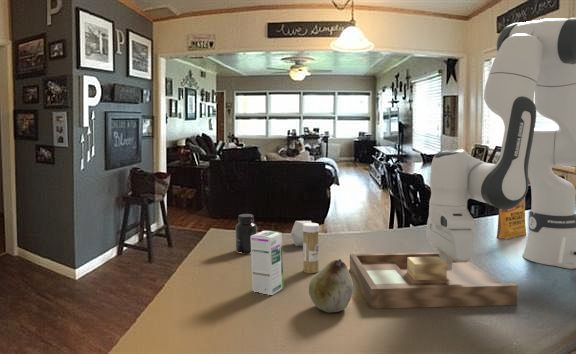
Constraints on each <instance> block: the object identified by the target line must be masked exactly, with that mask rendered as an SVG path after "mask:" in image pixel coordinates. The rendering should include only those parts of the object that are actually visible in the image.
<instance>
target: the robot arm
mask: <svg viewBox="0 0 576 354" xmlns="http://www.w3.org/2000/svg"><path fill="white" fill-rule="evenodd" d="M496 51H497V53H496V55H495V56H494V60H493V61H492V63H491V67H490V70H489V74H488V77H487V80H486V82H485V87H484V93H483V94H484V95H483V100H484V102H485V104H486V106H487V108H488V109H489V110H490V111H491V112H492V113H494V114H495V115H496V116H498V117H499V118H500V119H501V120H502V121H503V125H504V132H503V137H502V143H501V149H500V153H499V158H498V159H497V161H498V162H497V161H496V162H497V163H496V162H495V163H491V162H485V161H483V160H480V159H478V158H476V157H473V156H472V155H470V154H469V153H468V152H467V151H466V150H465V149H462V148H452V149H450V148H449V149H444V150H441V151H438V152H437V153H436V154H434V156H433V158H432V161H431V164H430V173H429V174H430V176H429V187H430V198H429V203H428V204H429V207H428V208H429V209H428V218H427V222H426V235H425V237H426V241H427V242H428V243H429V244H431V246H433V247H435V248H436V249H438V252H439V257H440V259H442V260H443V261H444V262H446V263H447V271H450V270H452V263H453V261H455V262H468V261H471V259H472V255H473V248H474V233H473V232H474V231H473V230H475V227H476V220H475V219H474V218H473V216H472V215H471V214H470V211H469V209H468V200H470V199H471V200H475V201H478V202H482V203H485V204H487V205H490V206H493V207H495V208H497V209H498V210H499V209H510V208H513V207H515V206H517V205H518V204H519V203H520V202H521V201H522V200H523V199H524V197H525V198H526V195H527V193H528V190H529V185H530V190H531V192H530V193H531V205H530V206H531V207H530V208H531V209H530V210H529V214H528V237H527V241H526V244H525V247H524V251H523V253H522V257H523V258H524V259H526V260H527V261H531V262H532V263H533V262H534V263H538V264H541V265H546V266H547V265H548V266H552V267H553V266H554V267H559V268H564V269H569V270H571V269H576V213H575V211H576V210H575V209H576V208H575V207H576V187H575V186H574V184H573V183H571V182H570V181H568V180H567V179H565V178H564V177H563V178H562V177H561V176H558V175H556V173H554V171H553V167H560V166H561V167H576V17H568V18H543V19H540V20H539V19H538V20H532V21H526V22H525V21H524V22H518V21H517V22H514V23H511V24H509V25H507V26H505V27H504V28H503V29H502V30H501V32H500V33H499V35H498V37H497V40H496ZM537 113H538V114H539V115H540V116H542V117H544V118H547V119H549V120H551V121H552V122H555V123H556V124H557V126H558V127H536V121H537ZM472 229H473V230H472Z"/></svg>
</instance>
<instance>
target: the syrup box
mask: <svg viewBox="0 0 576 354" xmlns="http://www.w3.org/2000/svg"><path fill="white" fill-rule="evenodd" d="M283 255H284V254H283V233H282V232H280V231H276V230H275V231H273V230H262V231H260V232H257V234H255V235H251V254H250V258H251V260H250V262H251V281H252V283H251V287H252V288H251V289H252V292H253V291H254V292H253V293H255V292H259V293H263V294H268V295H267V296H269V295H273V296H274V295H275V294H276V293H278V292H280V291H281V290H283V289H284V263H283V261H284V260H283V259H284V258H283V257H284V256H283ZM263 294H262V295H263Z"/></svg>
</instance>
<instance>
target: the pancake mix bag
mask: <svg viewBox="0 0 576 354" xmlns="http://www.w3.org/2000/svg"><path fill="white" fill-rule="evenodd" d="M497 162H498V160H496V162H495V164H496V163H497ZM497 216H498V218H497V229H496V238H497V239H499V240H500V239H501V240H510V239H514V238H515V239H516V238H519V237H524V236H526V235H527V227H526V196H525V197H524V199H523V200H522V201H521V202H520V203H519V204H518V205H517V206H515V207H513V208H510V209H499V208H498V215H497Z"/></svg>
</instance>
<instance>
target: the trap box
mask: <svg viewBox="0 0 576 354" xmlns="http://www.w3.org/2000/svg"><path fill="white" fill-rule="evenodd" d="M437 256H438V257H439V251H438V252H433V251H432V252H429V251H428V252H392V253H391V252H390V253H388V252H387V253H386V252H385V253H384V252H383V253H382V252H381V253H350V254H349V271H350V273H351V274H352V276H353V278H354V280H355V282H356V283H357V286H358V288H359V289H360V291H361V292H362V294H363V296H364V298H365V300H366V302H367V304H368V305H369V308H370V309H375V310H376V309H407V308H409V309H411V308H439V307H440V308H442V307H443V308H444V307H449V308H450V307H481V306H482V307H484V306H486V307H487V306H490V307H491V306H517V305H518V290H519V285H518V284H516V283H513V282H512V283H511V282H510V283H509V282H505V283H503V282H500V281H499V280H497V279H496V278H495V277H494V276H492V275H490V274H488V272H486V271H485V270H483V269H481V268H480V267H479V266H477V265H475V263H472V262H471V260H469V261H468V262H455V261H453V263H452V270H450V271H447V279H442V280H414V279H413V278H412V277H411V276H410V275H409V274H408V273H407V257H437ZM439 258H440V257H439Z"/></svg>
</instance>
